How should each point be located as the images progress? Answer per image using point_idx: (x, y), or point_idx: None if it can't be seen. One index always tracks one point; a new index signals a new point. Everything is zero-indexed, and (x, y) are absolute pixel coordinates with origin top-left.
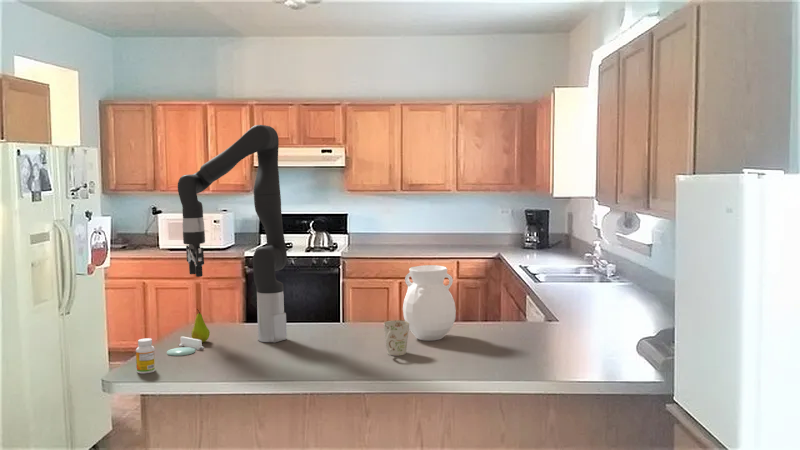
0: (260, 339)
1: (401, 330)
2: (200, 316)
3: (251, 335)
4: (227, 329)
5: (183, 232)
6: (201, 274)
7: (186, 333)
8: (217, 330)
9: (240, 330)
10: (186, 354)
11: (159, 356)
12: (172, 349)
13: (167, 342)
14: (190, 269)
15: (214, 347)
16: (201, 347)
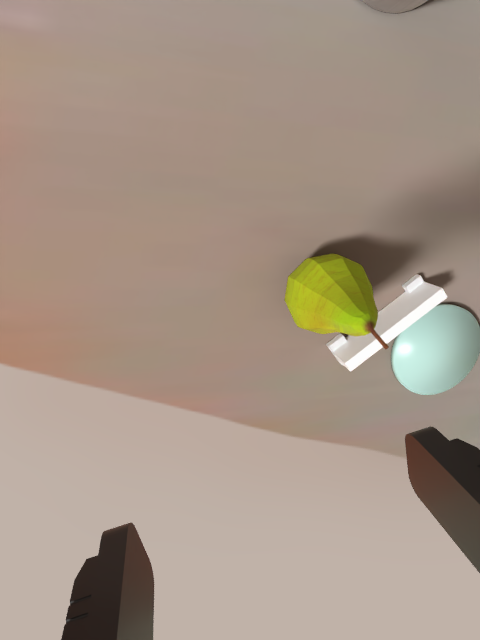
0: (423, 2)
1: None
2: (375, 315)
3: (261, 29)
4: (70, 146)
5: None
6: (463, 445)
7: (116, 348)
8: (83, 203)
9: (116, 73)
10: (477, 330)
11: (449, 409)
12: (409, 380)
13: (265, 406)
14: (151, 632)
15: (417, 232)
16: (424, 283)
